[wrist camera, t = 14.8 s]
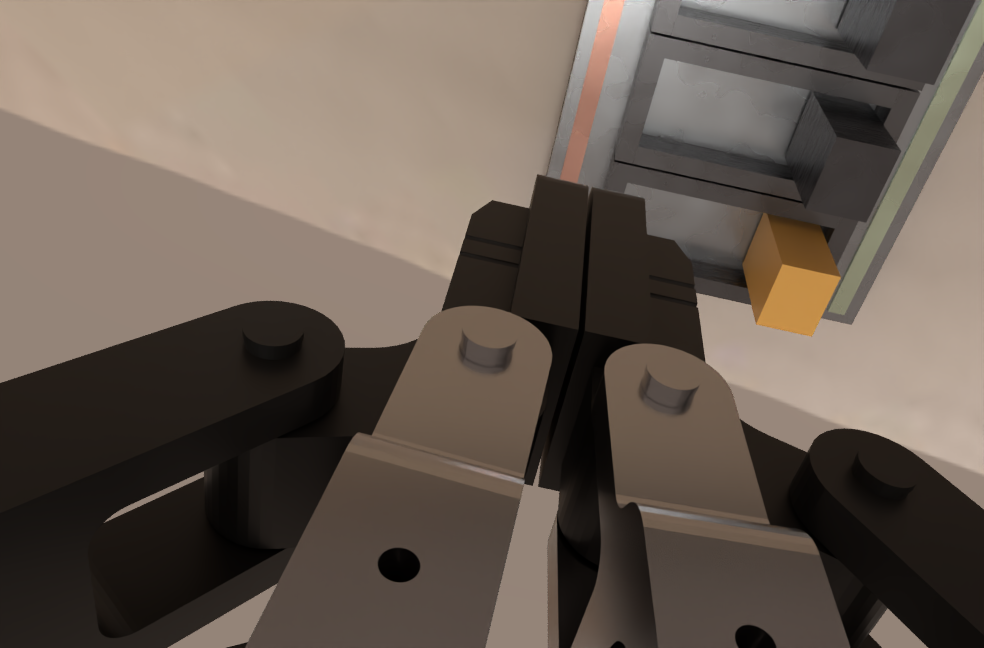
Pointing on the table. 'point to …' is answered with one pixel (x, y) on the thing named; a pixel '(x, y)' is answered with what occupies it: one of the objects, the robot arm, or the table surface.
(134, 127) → the table surface
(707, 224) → the panel
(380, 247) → the table surface
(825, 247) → the block
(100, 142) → the table surface
